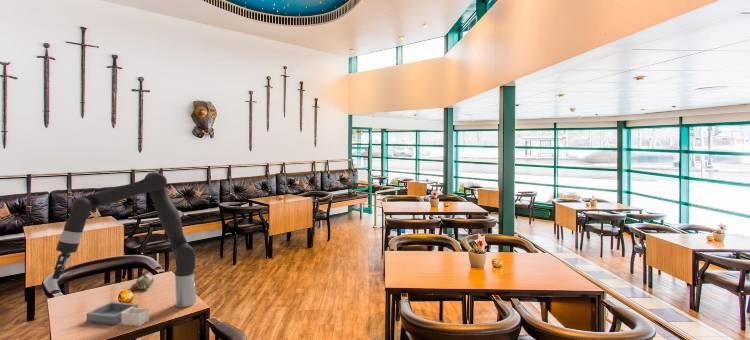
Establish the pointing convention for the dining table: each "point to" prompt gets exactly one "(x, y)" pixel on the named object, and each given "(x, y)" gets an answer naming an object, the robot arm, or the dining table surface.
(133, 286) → the ceramic sculpture
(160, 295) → the dining table surface
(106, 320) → the tray
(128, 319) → the cream crate
